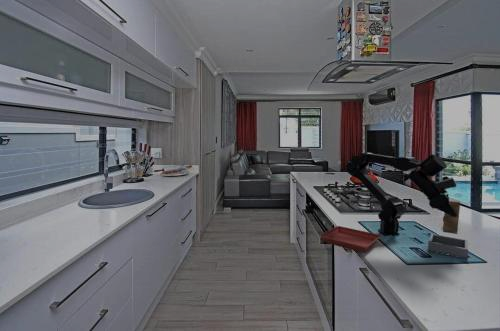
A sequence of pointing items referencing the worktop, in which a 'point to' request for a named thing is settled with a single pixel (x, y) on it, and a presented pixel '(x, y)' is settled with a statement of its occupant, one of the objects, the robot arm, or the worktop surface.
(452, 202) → the handle block
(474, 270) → the worktop surface
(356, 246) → the plant saucer
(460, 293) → the worktop surface
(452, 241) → the box
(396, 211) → the robot arm
